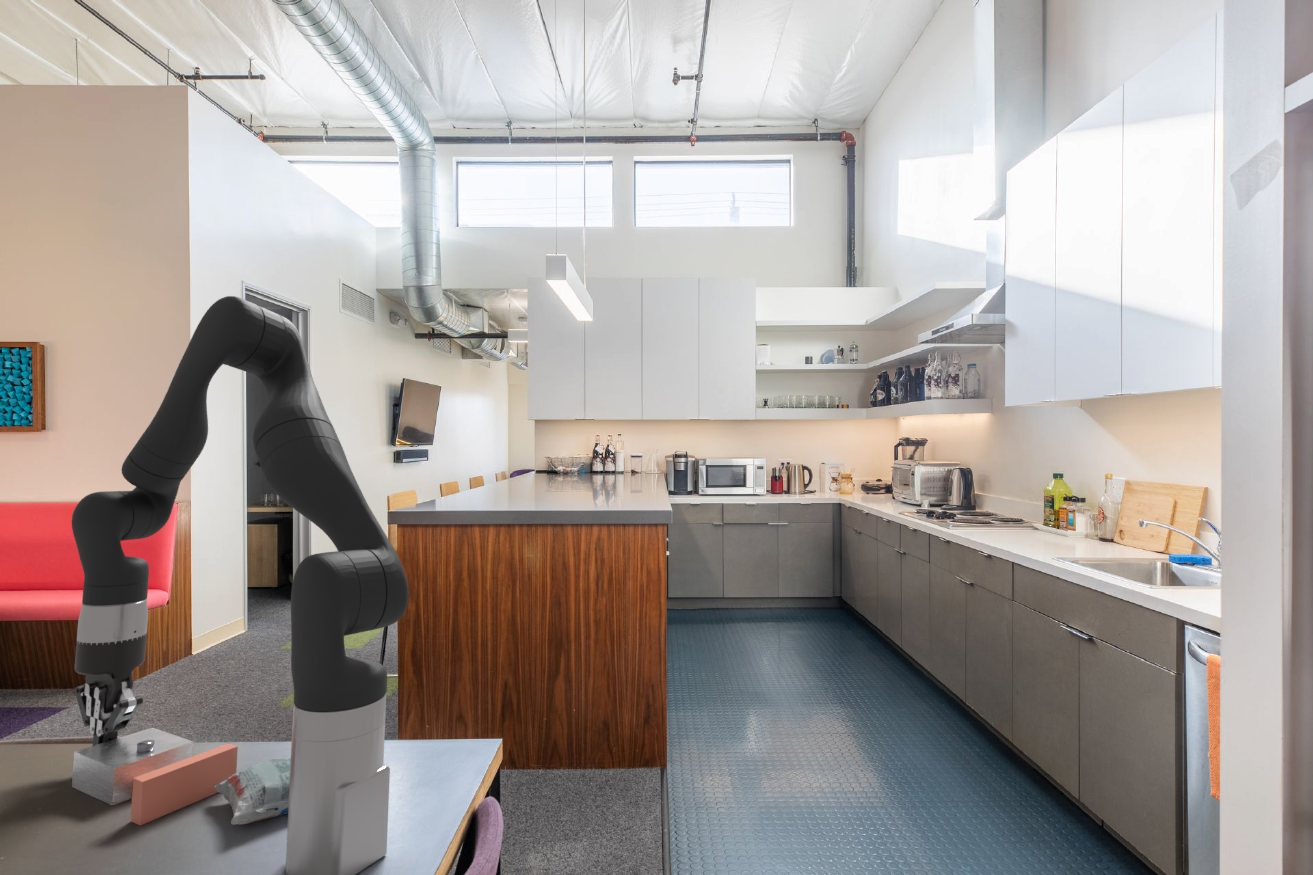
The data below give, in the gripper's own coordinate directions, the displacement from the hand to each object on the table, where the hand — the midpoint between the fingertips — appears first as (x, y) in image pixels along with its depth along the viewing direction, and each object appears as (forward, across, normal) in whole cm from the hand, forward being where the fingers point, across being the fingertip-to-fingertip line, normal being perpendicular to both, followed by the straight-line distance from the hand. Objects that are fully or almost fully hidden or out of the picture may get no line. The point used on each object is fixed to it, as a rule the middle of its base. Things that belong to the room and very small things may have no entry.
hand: (103, 759), depth 89 cm
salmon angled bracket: (+1, -14, 0) cm, 15 cm away
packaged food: (+1, -29, -3) cm, 29 cm away
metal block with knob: (+1, -8, 0) cm, 8 cm away
